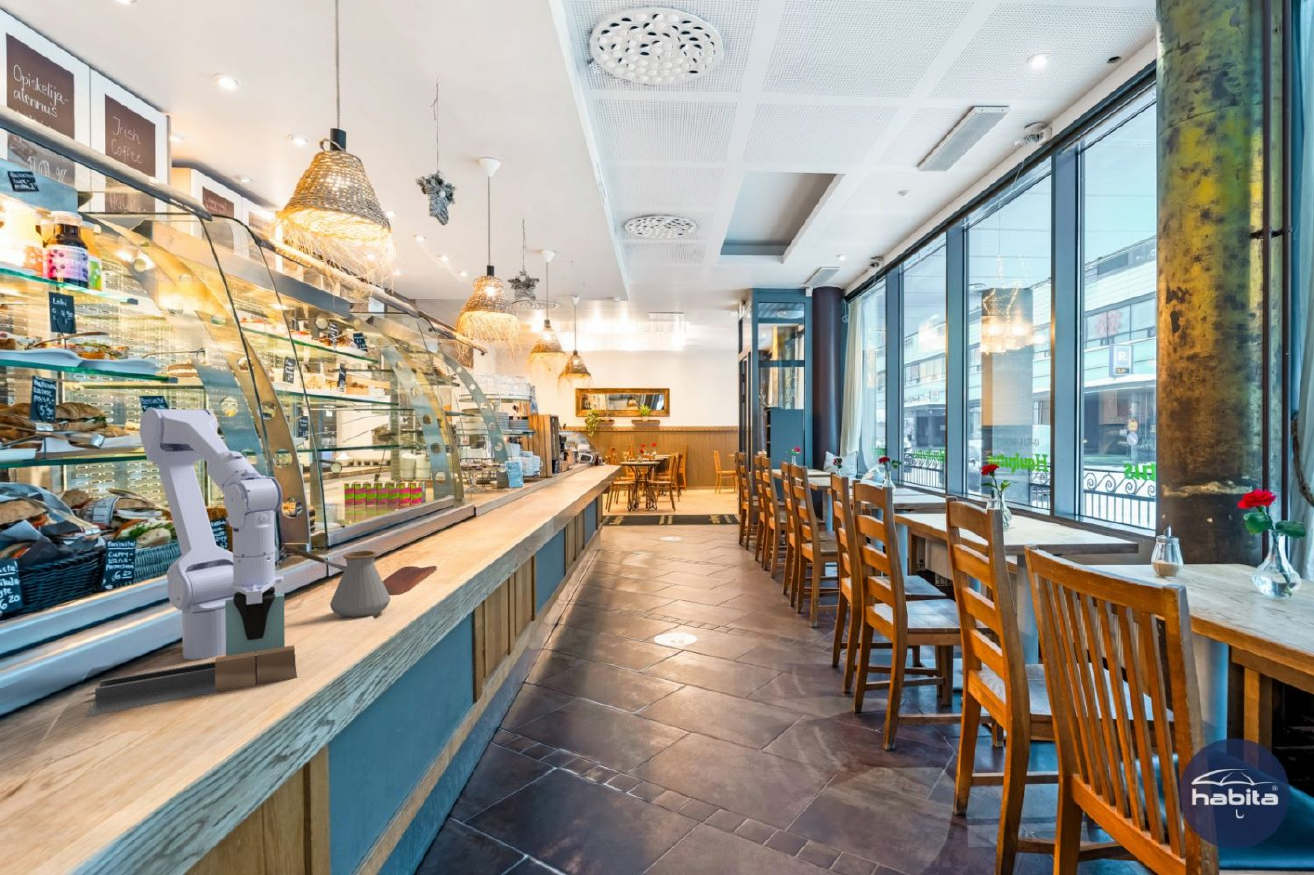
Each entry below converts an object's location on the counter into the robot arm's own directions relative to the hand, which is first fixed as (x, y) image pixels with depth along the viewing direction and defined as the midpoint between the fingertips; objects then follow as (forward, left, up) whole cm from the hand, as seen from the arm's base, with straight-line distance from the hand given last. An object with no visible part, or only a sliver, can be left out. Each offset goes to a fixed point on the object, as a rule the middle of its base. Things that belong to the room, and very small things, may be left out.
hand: (255, 636), depth 103 cm
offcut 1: (+7, -2, -5) cm, 9 cm away
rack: (+2, -7, -6) cm, 10 cm away
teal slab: (0, 0, -3) cm, 3 cm away
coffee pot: (-26, +14, -6) cm, 31 cm away
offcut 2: (+7, +3, -5) cm, 9 cm away
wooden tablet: (-49, +31, -7) cm, 58 cm away
